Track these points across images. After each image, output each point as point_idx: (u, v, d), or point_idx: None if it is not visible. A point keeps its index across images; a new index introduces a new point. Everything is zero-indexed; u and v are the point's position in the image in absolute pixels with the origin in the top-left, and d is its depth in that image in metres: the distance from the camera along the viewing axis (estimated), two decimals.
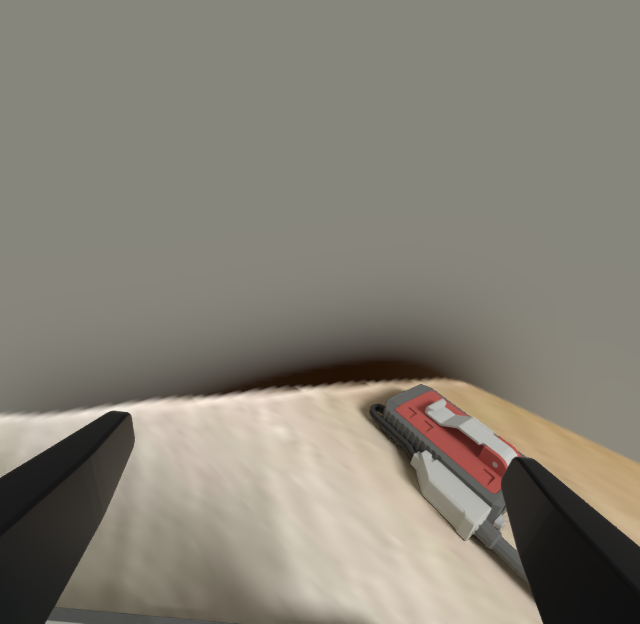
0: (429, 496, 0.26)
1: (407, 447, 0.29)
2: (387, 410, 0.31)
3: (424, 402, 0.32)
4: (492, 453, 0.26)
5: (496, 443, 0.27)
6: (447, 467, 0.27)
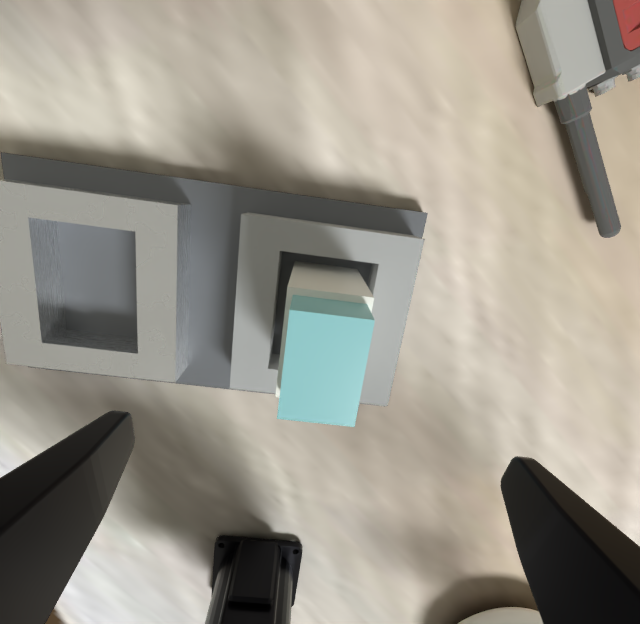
0: (524, 33, 0.17)
1: None
2: None
3: None
4: None
5: None
6: None
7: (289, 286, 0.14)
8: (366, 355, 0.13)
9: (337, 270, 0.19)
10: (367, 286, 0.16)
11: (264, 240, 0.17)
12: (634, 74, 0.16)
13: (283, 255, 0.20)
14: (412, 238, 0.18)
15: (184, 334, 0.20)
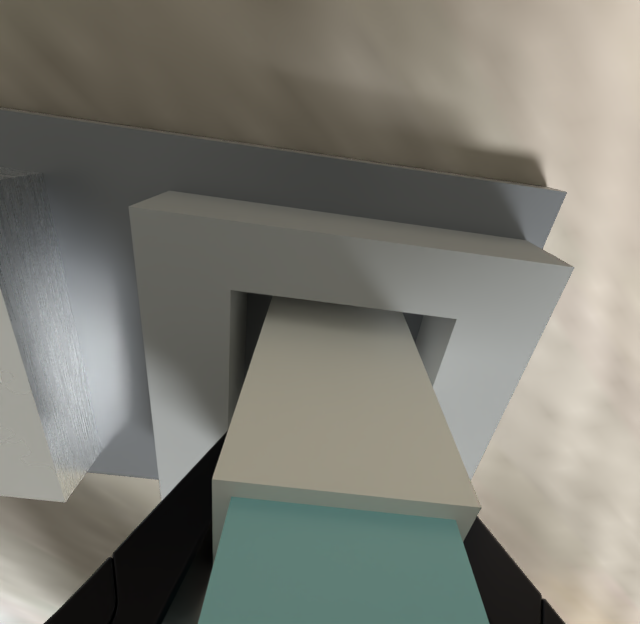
0: None
1: None
2: None
3: None
4: None
5: None
6: None
7: (220, 474, 0.05)
8: None
9: (361, 320, 0.09)
10: None
11: (193, 267, 0.07)
12: None
13: None
14: (544, 264, 0.07)
15: (78, 415, 0.11)
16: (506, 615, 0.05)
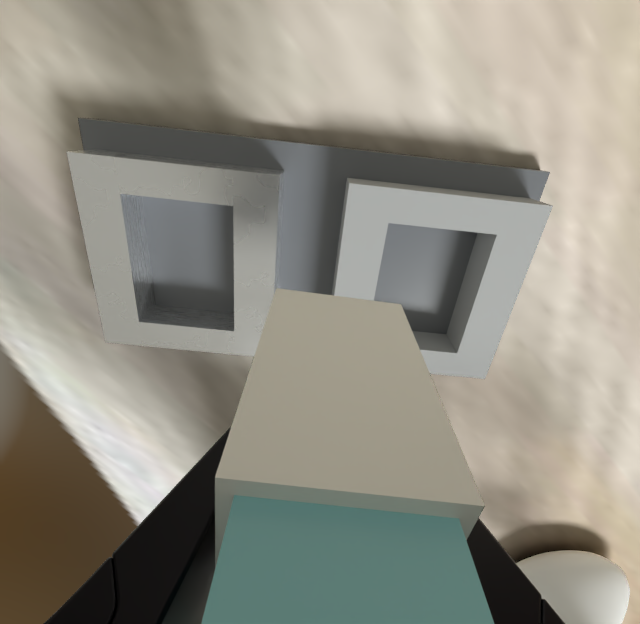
0: None
1: None
2: None
3: None
4: None
5: None
6: None
7: (223, 472, 0.05)
8: None
9: (362, 319, 0.09)
10: (442, 405, 0.06)
11: (372, 212, 0.16)
12: None
13: None
14: (538, 205, 0.16)
15: None
16: (506, 615, 0.05)
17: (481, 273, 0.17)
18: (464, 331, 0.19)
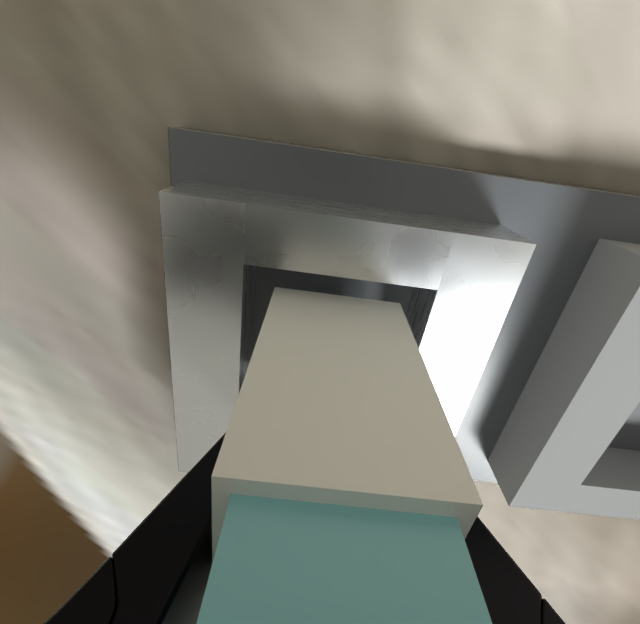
0: None
1: None
2: None
3: None
4: None
5: None
6: None
7: (219, 471, 0.05)
8: None
9: (361, 318, 0.09)
10: (441, 404, 0.06)
11: None
12: None
13: None
14: None
15: None
16: (506, 615, 0.05)
17: None
18: None
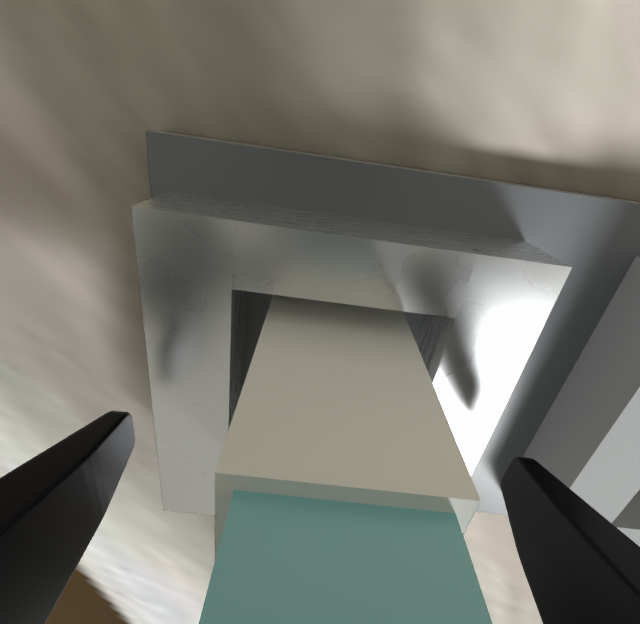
0: None
1: None
2: None
3: None
4: None
5: None
6: None
7: (222, 467, 0.05)
8: None
9: (361, 317, 0.09)
10: (440, 402, 0.06)
11: None
12: None
13: None
14: None
15: None
16: None
17: None
18: None
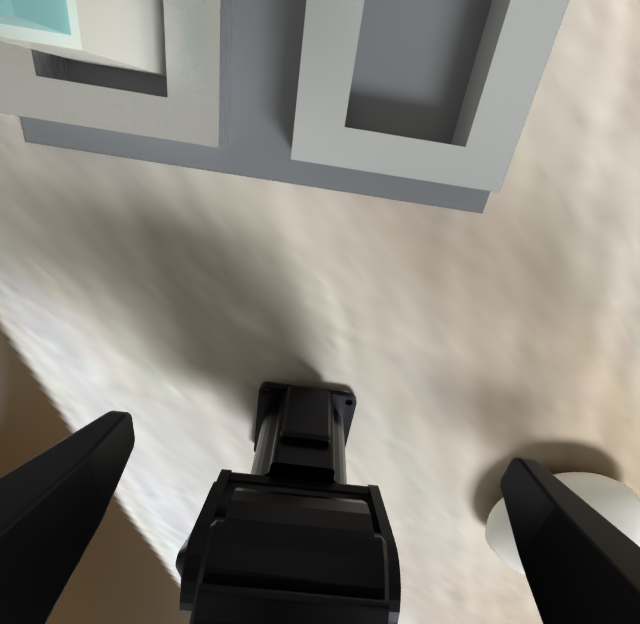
0: None
1: None
2: None
3: None
4: None
5: None
6: None
7: None
8: None
9: None
10: None
11: None
12: None
13: None
14: None
15: (228, 84, 0.15)
16: None
17: (505, 8, 0.13)
18: (477, 109, 0.14)
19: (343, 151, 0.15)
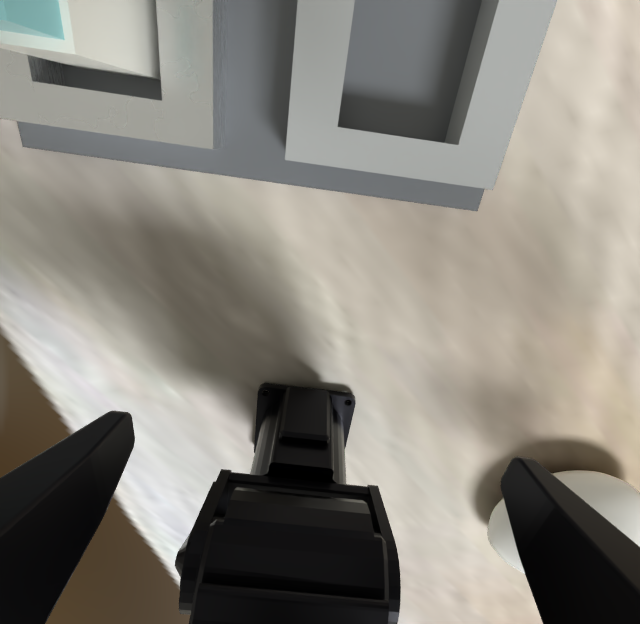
0: None
1: None
2: None
3: None
4: None
5: None
6: None
7: None
8: None
9: None
10: None
11: None
12: None
13: None
14: None
15: (222, 87, 0.15)
16: None
17: (495, 7, 0.13)
18: (469, 107, 0.14)
19: (337, 151, 0.15)
